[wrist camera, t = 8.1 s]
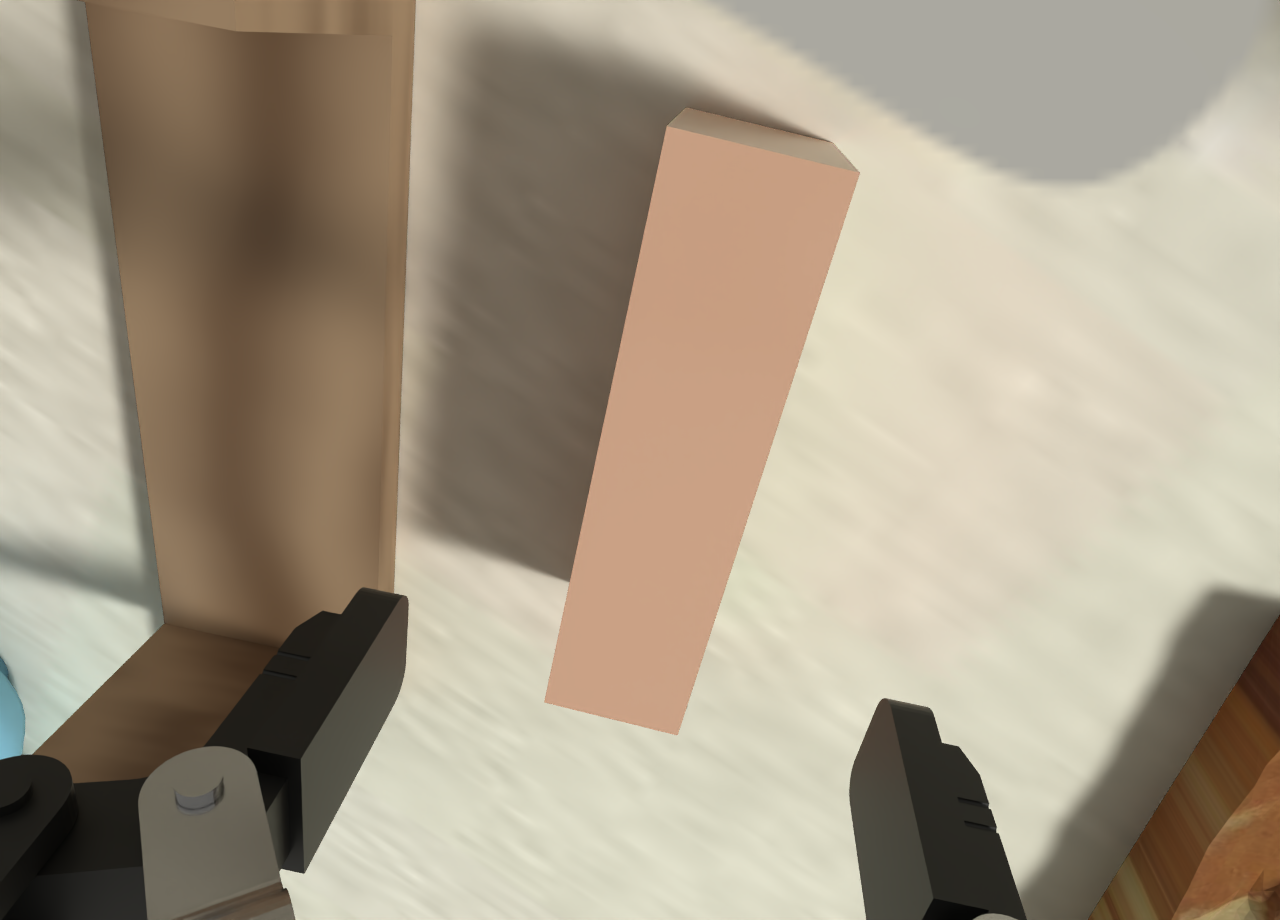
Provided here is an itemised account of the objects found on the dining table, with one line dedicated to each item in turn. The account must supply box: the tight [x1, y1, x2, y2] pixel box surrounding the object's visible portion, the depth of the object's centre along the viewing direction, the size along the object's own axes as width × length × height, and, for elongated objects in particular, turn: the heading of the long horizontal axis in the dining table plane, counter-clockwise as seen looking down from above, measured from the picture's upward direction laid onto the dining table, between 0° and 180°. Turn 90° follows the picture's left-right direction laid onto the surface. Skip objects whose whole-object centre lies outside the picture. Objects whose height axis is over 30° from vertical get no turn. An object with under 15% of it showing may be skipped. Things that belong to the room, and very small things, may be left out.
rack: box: [32, 0, 416, 783], centre depth 23 cm, size 8×26×8 cm, turn 170°
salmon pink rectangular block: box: [544, 107, 860, 735], centre depth 23 cm, size 4×16×6 cm, turn 168°
